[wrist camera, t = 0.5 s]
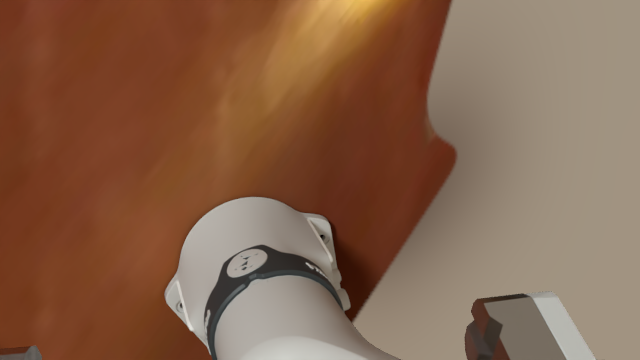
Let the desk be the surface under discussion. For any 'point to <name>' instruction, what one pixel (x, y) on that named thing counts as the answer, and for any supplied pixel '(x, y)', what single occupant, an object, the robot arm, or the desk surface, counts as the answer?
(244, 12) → the desk surface
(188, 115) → the desk surface
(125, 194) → the desk surface
